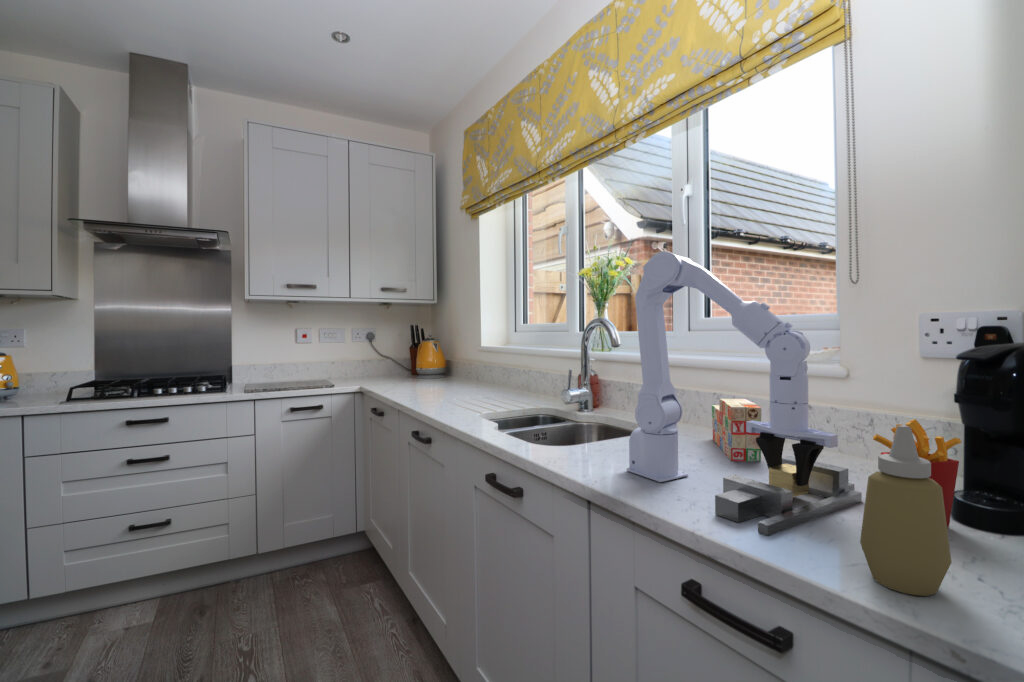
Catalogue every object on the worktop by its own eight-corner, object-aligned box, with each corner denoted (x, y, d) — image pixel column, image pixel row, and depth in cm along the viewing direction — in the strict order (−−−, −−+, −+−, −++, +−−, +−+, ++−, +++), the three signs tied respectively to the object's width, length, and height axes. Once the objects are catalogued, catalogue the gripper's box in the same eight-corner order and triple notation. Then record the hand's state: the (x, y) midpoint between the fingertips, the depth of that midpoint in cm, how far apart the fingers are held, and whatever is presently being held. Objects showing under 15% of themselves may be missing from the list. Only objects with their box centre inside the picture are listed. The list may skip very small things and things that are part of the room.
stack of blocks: (711, 439, 127) (711, 393, 127) (737, 440, 126) (737, 393, 126) (731, 461, 107) (730, 406, 106) (761, 462, 105) (761, 406, 105)
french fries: (961, 529, 69) (962, 425, 69) (912, 534, 68) (912, 428, 68) (903, 507, 78) (903, 414, 78) (858, 511, 77) (858, 417, 76)
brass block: (768, 490, 83) (768, 467, 83) (785, 485, 85) (785, 463, 85) (792, 497, 80) (792, 473, 79) (809, 492, 82) (809, 468, 82)
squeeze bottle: (843, 568, 59) (843, 421, 58) (904, 564, 59) (905, 418, 59) (902, 606, 51) (902, 435, 50) (972, 601, 51) (973, 433, 51)
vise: (697, 509, 78) (697, 478, 78) (796, 480, 92) (796, 454, 92) (768, 536, 68) (767, 500, 68) (867, 498, 82) (867, 469, 82)
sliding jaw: (699, 508, 79) (699, 483, 79) (734, 497, 83) (734, 474, 83) (756, 529, 70) (756, 502, 70) (793, 516, 75) (793, 491, 74)
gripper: (847, 405, 78) (847, 488, 78) (762, 395, 90) (762, 467, 91) (823, 409, 74) (824, 496, 75) (738, 398, 87) (739, 473, 87)
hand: (788, 481), depth 82 cm, fingers closed on brass block, 4 cm apart
